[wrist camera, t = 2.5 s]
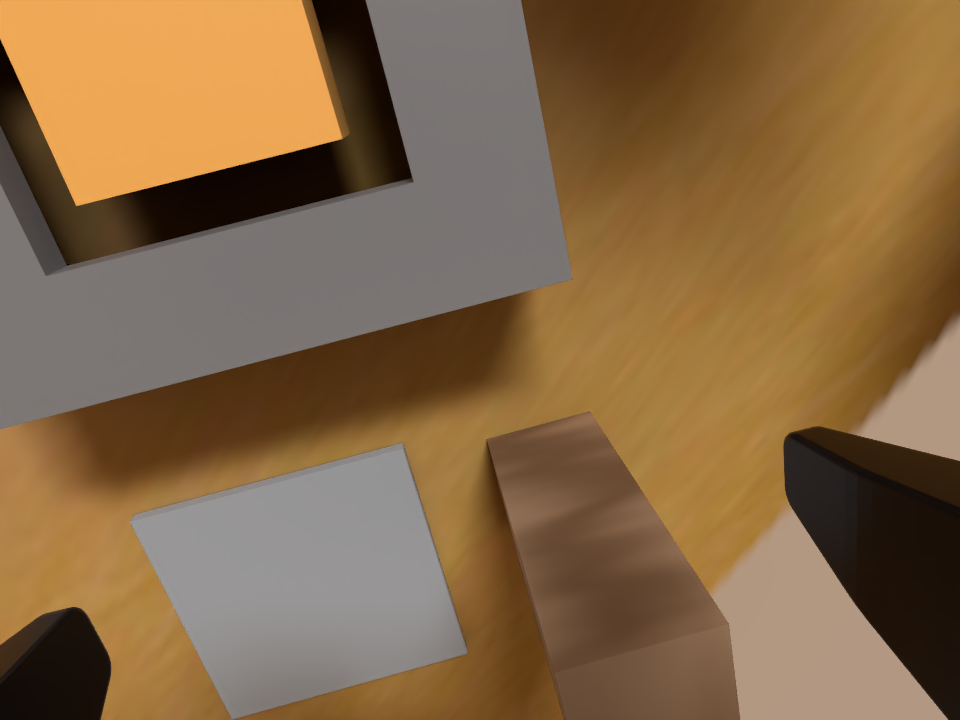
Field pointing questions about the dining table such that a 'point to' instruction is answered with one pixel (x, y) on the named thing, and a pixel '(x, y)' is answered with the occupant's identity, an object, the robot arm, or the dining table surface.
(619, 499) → the brown rectangular block
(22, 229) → the box
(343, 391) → the dining table surface
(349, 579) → the mat
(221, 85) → the button
